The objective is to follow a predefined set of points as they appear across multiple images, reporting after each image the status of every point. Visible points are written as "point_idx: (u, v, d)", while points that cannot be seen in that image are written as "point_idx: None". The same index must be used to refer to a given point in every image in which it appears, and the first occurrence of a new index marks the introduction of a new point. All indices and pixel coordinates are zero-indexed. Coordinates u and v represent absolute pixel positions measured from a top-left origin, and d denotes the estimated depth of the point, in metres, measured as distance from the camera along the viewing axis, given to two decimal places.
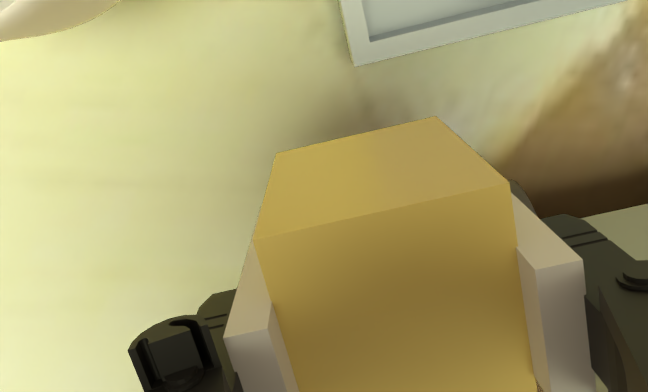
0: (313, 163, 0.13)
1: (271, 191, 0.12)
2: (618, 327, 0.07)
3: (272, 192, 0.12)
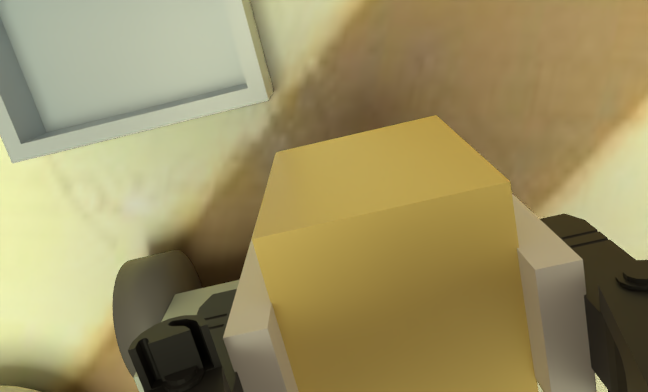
0: (313, 162, 0.13)
1: (270, 191, 0.12)
2: (618, 327, 0.07)
3: (271, 191, 0.12)
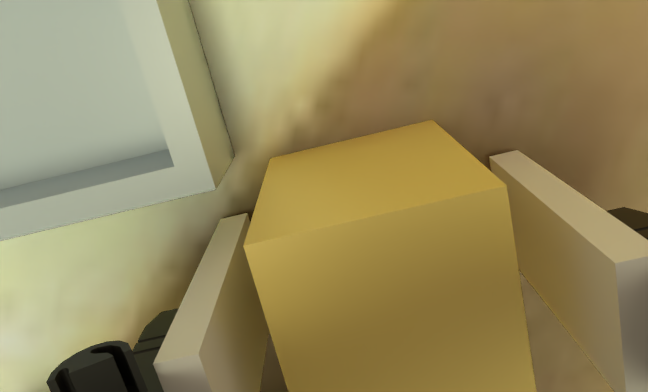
0: (307, 167, 0.13)
1: (264, 196, 0.12)
2: None
3: (265, 197, 0.12)
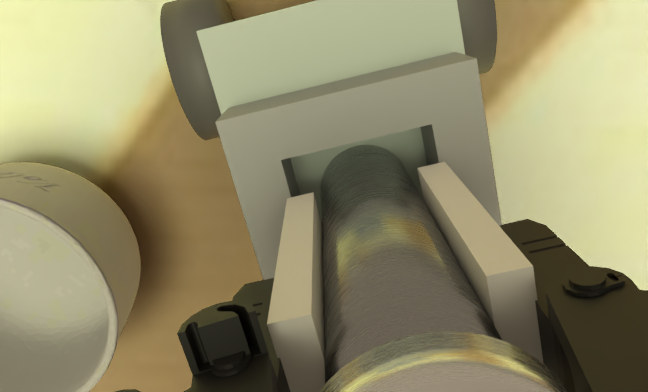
0: None
1: None
2: (565, 335, 0.07)
3: None
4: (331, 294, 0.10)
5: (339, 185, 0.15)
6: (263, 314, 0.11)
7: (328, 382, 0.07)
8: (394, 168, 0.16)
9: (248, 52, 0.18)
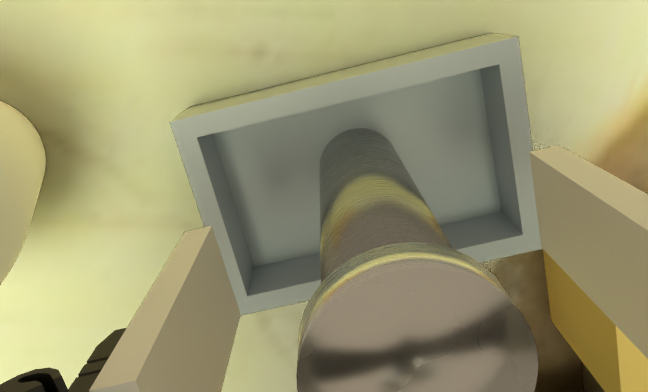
0: None
1: None
2: None
3: None
4: (326, 237, 0.13)
5: (335, 159, 0.18)
6: None
7: (322, 282, 0.09)
8: (383, 146, 0.18)
9: None
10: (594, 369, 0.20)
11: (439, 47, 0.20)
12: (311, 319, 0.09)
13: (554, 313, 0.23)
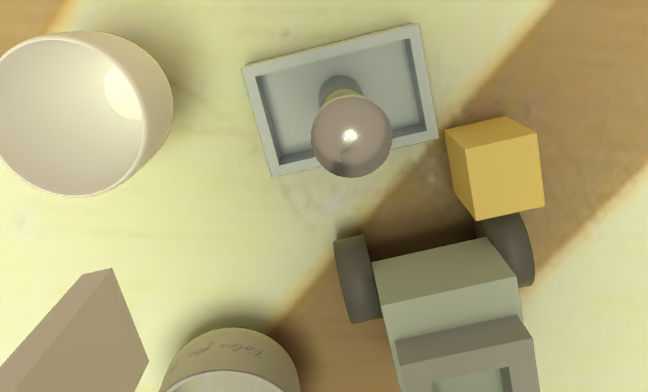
0: (465, 132, 0.38)
1: (457, 140, 0.36)
2: None
3: (457, 140, 0.36)
4: None
5: (326, 87, 0.35)
6: None
7: (319, 109, 0.26)
8: (351, 81, 0.36)
9: (407, 315, 0.33)
10: (467, 204, 0.37)
11: (382, 30, 0.37)
12: (315, 117, 0.26)
13: (454, 186, 0.41)
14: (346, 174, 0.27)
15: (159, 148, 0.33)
